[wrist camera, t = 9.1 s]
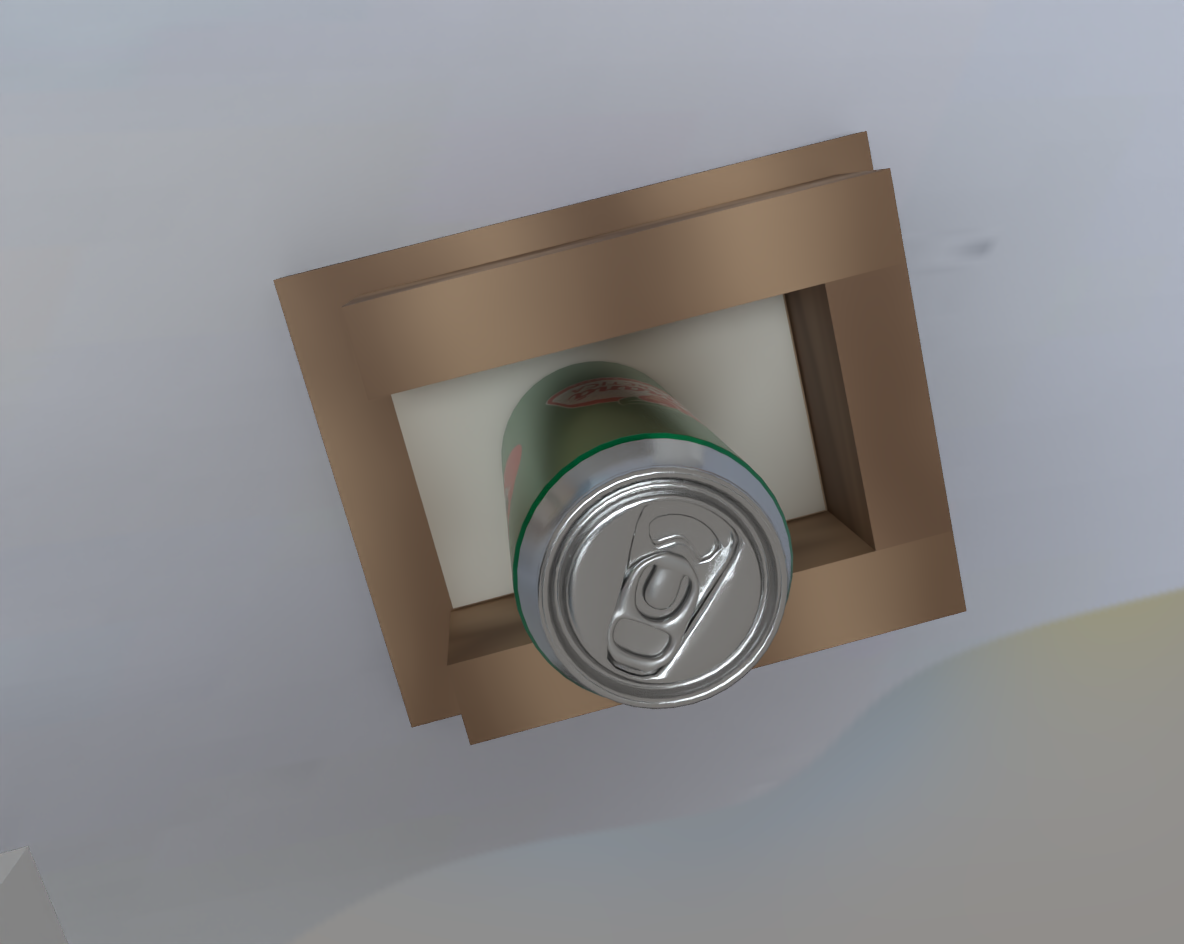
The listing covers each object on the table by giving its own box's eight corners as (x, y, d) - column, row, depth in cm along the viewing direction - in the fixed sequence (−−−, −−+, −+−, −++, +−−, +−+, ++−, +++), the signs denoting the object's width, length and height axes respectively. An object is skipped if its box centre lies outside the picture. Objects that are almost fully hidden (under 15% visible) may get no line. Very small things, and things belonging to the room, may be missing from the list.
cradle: (413, 709, 33) (402, 797, 28) (281, 277, 30) (241, 289, 25) (930, 571, 34) (1008, 633, 29) (851, 134, 31) (925, 118, 26)
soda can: (714, 397, 31) (858, 506, 19) (644, 565, 31) (740, 766, 20) (541, 330, 30) (580, 399, 18) (474, 503, 31) (470, 677, 19)
